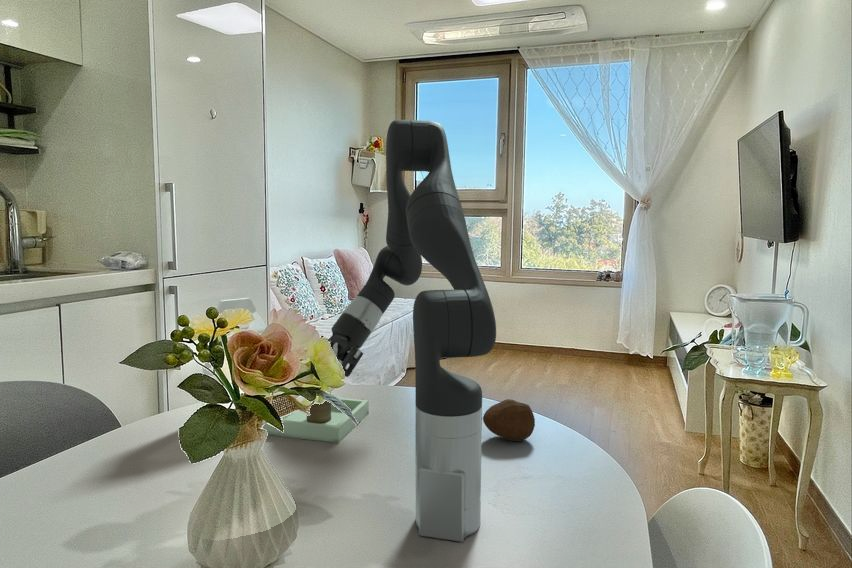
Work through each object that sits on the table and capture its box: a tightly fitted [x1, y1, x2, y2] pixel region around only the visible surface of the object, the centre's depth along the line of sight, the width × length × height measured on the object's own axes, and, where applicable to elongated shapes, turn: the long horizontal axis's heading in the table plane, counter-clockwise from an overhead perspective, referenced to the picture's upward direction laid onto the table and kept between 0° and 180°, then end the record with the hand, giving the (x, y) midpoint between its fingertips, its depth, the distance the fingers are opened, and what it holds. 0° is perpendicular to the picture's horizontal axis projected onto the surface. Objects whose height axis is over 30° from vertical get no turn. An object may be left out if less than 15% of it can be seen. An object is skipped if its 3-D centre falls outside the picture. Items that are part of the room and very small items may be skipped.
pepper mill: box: [307, 392, 332, 424], centre depth 114 cm, size 5×5×11 cm
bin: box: [263, 397, 370, 444], centre depth 115 cm, size 16×16×3 cm
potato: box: [482, 399, 536, 442], centre depth 107 cm, size 7×10×8 cm
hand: (312, 384), depth 113 cm, fingers open, 8 cm apart
